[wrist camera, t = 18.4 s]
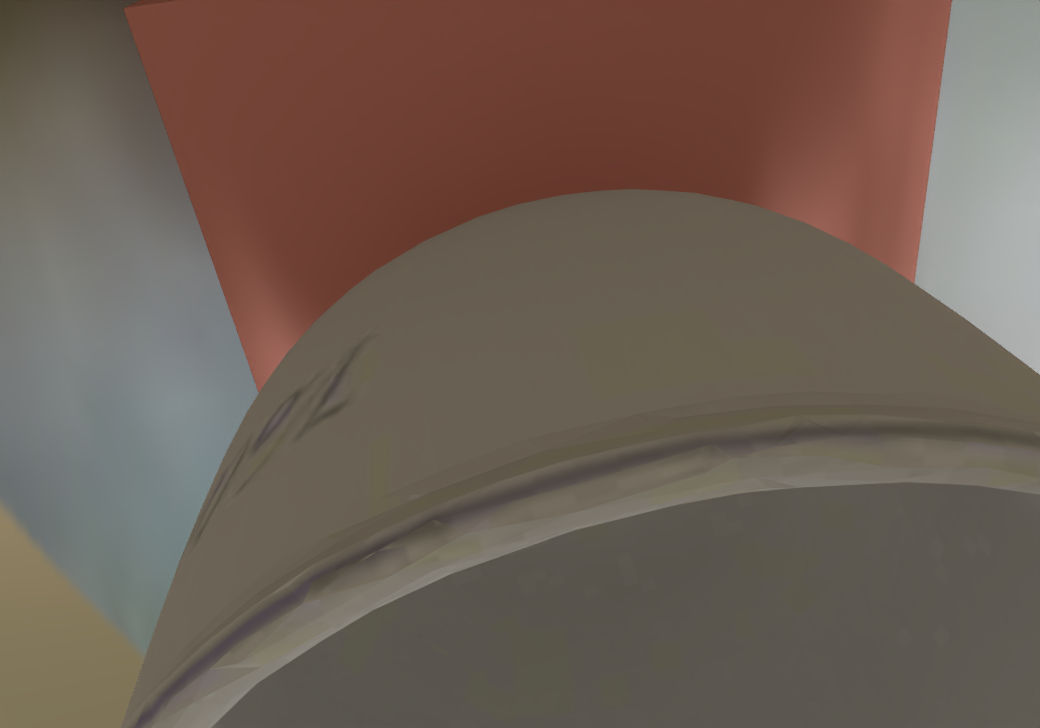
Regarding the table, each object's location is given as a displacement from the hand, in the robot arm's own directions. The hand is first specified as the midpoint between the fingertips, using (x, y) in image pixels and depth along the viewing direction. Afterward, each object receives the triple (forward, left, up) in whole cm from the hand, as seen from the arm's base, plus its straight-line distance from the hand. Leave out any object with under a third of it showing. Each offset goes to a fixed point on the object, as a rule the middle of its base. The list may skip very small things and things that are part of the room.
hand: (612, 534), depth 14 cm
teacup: (0, 0, -1) cm, 1 cm away
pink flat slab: (-6, 0, -5) cm, 8 cm away
